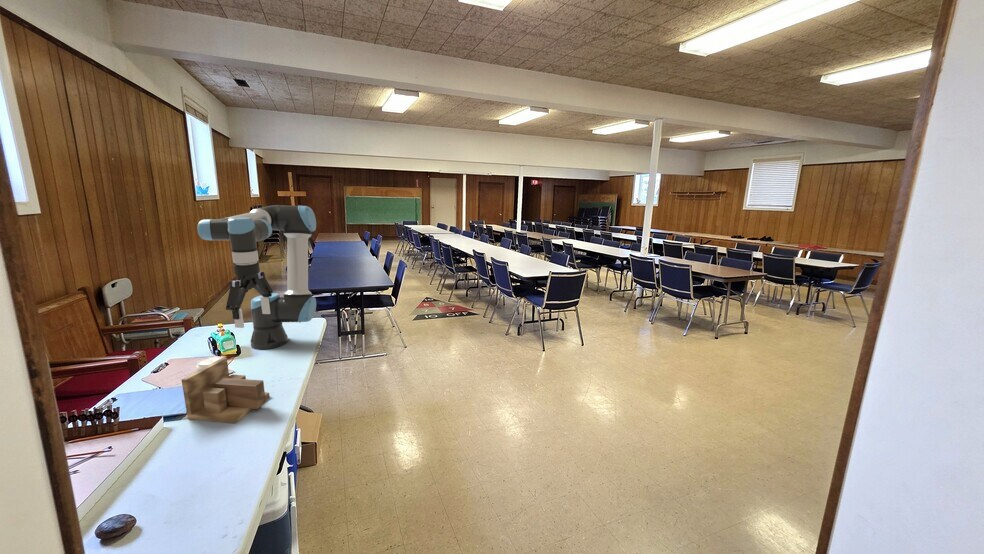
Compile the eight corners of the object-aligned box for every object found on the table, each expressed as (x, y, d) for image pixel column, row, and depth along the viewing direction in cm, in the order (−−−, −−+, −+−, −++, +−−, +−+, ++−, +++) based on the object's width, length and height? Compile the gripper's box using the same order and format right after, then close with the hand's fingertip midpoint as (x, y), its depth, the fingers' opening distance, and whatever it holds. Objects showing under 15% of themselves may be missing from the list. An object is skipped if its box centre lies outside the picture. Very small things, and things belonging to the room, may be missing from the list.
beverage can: (213, 398, 130) (209, 366, 128) (194, 395, 132) (189, 364, 129) (233, 387, 138) (230, 357, 136) (215, 384, 140) (211, 354, 137)
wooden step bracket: (227, 392, 135) (222, 357, 132) (269, 396, 133) (265, 361, 130) (187, 418, 119) (181, 379, 116) (234, 423, 118) (229, 383, 115)
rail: (225, 399, 128) (222, 377, 126) (265, 402, 127) (263, 380, 125) (216, 406, 124) (213, 383, 122) (257, 408, 123) (255, 386, 121)
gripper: (260, 255, 143) (267, 307, 148) (206, 270, 119) (216, 333, 124) (279, 256, 142) (285, 309, 148) (228, 272, 118) (237, 334, 124)
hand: (253, 320), depth 136 cm, fingers open, 13 cm apart
